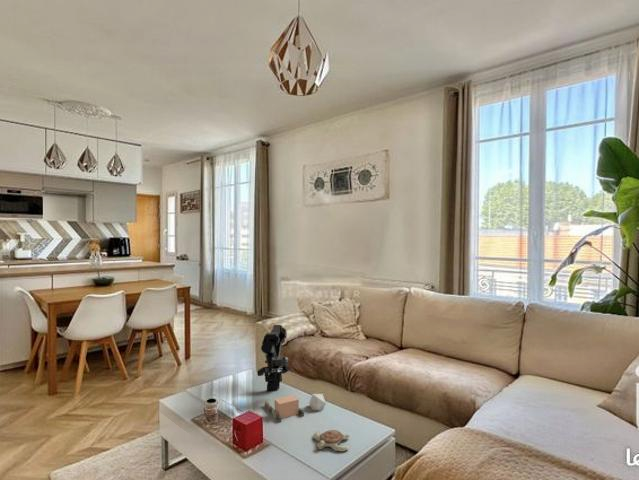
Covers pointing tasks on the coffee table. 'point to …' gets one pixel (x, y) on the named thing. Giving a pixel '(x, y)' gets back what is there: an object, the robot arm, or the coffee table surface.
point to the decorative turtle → (331, 440)
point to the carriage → (287, 406)
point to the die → (317, 402)
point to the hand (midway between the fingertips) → (278, 387)
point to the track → (277, 413)
